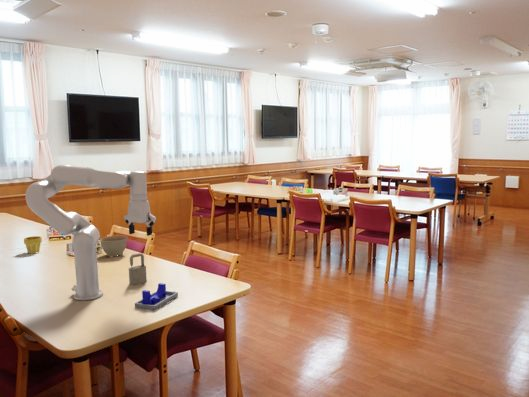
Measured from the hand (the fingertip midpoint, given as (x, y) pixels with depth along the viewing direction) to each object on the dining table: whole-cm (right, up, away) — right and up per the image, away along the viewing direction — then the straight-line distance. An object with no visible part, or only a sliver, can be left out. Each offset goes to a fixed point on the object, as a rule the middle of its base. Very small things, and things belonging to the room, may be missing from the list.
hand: (140, 234), depth 208 cm
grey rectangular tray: (+10, -30, -8) cm, 32 cm away
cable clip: (+9, -29, -8) cm, 32 cm away
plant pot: (-94, -19, +85) cm, 128 cm away
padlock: (-7, -26, +19) cm, 33 cm away
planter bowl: (-37, -19, +75) cm, 86 cm away
